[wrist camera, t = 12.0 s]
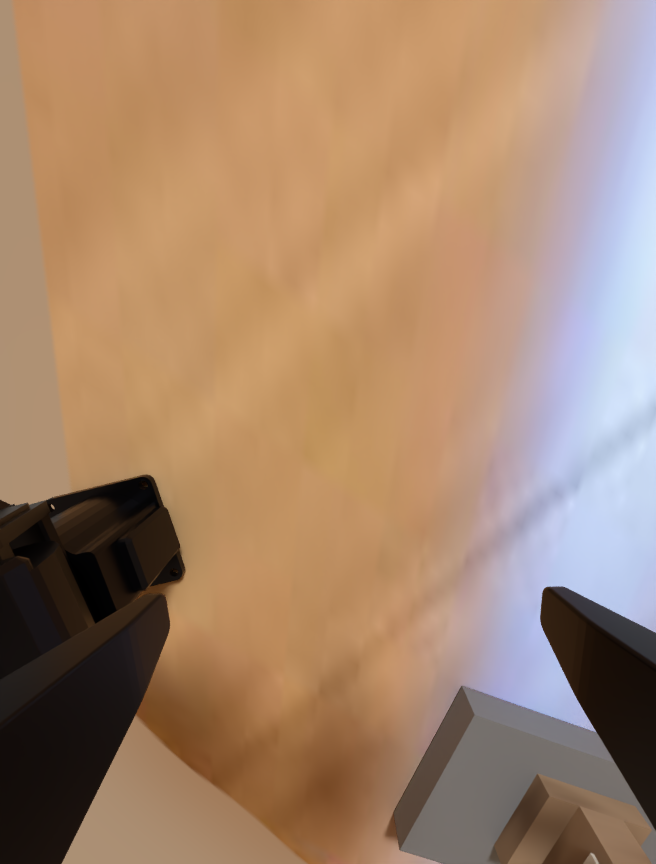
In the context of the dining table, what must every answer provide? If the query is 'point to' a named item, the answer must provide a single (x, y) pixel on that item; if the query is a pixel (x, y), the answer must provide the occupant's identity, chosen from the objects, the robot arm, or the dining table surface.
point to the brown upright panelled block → (571, 828)
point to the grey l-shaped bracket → (496, 777)
